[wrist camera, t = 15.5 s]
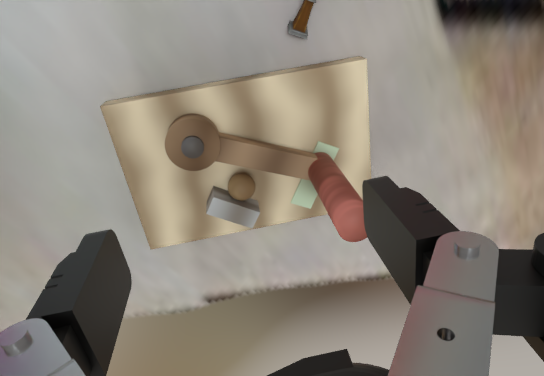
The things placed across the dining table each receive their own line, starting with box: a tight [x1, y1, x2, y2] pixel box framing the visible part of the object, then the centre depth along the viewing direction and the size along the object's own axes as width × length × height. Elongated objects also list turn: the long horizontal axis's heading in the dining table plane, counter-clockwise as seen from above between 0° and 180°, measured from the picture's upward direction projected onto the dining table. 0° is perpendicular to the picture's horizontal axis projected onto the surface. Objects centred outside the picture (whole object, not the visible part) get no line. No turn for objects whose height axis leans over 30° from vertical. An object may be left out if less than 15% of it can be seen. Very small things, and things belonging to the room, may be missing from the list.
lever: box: [165, 113, 367, 242], centre depth 34 cm, size 17×5×12 cm, turn 75°
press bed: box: [100, 56, 371, 249], centre depth 39 cm, size 25×16×5 cm, turn 99°
